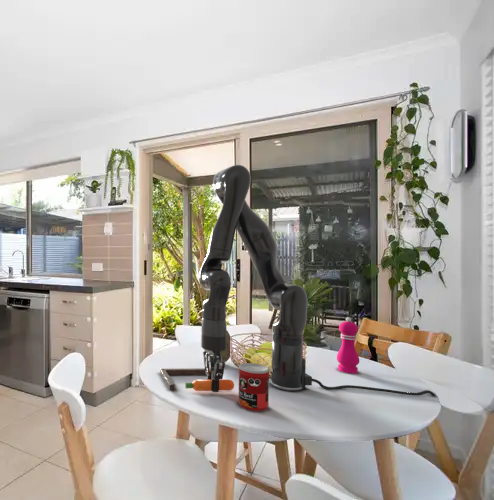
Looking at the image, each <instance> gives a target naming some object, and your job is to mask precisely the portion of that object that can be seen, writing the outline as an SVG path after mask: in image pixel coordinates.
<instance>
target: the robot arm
mask: <svg viewBox="0 0 494 500" xmlns="http://www.w3.org/2000/svg"><path fill="white" fill-rule="evenodd" d="M251 182H252V177H251V173H250V171H249V169H248V168H247V167H246V166H244V165H241V164H234V165H230V166H229V167H227V168H224V169H222V170H220V171H218V172H217V173H216V174H215V175H214V176H213V180H212V186H213V189H214V192H215V194H216V195H217V197H218V199H219V200H220V202H221V204H222V207H221V209H220V212H219V215H218V217H217V219H216V222H215V223H214V225H213V227H212V231H211V234H210V237H209V244H208V249H207V254H206V255H205V256H206V257H205V258H204V260H203V262H202V266H201V267H200V271H199V275H198V282H199V285H200V286H201V288H202V289H204V290H205V291H209V294H208V298H205V299H204V300H203V302H202V315H201V316H202V317H201V326H200V327H201V328H200V329H201V334H200V335H201V336H200V337H201V338H200V346H201V347H200V348H202V349H203V350H204V349H205V350H206V351H202V355H203V367H204V368H205V371H206V375H207V377H206V378H207V379H206V380H211V390H212V391H211V392H212V393H218V392H220V391H219V380H224V378H223V377H224V374H225V373H224V372H225V369H226V368H225V367H226V362H222V356H221V351H222V350H225V349H226V330H227V329H228V328H227V302H228V300H229V296H230V292H231V288H232V280H231V276H230V274H229V273H228V271H227V270H225V269H223V265H224V264H225V263H227V262H229V261H230V259H231V256H232V252H233V246H234V241H235V240H234V239H235V235H236V232H237V233H238V235H239V238H240V240H241V242H242V244H243V247H244V249H245V251H246V253H247V254H248V256H249V258H250V260H251V262H252V264H253V266H254V268H255V270H256V273H257V274H258V277H259V279H260V281H261V284H262V287H263V290H264V293H265V296H266V298H267V302H268V303H269V305H270V306H271V307H272V308H273V309H274V310H277V311H279V312H280V315H279V320H278V321H275V322H273V323H272V326H271V367H270V372H271V373H270V374H271V377H270V379H271V380H270V385H271V386H272V387H274V388H276V389H279V390H283V391H288V392H290V391H291V392H299V391H302V390H306V386H313V383H316V384H318V385H319V387H321V388H322V389H324V390H343V389H358V390H368V391H374V392H375V391H376V392H381V393H382V392H383V393H390V394H397V395H404V396H414V397H415V396H416V397H417V396H423V395H426V394H429V395H431V396H432V397H437V395H436V394H435V393H434V392H433V391H431V390H429V389H428V390H427V389H425V390H421V391H418V392H411V391H402V390H394V389H387V388H378V387H372V386H364V385H363V386H361V385H351V384H343V385H338V386H326V385H325V384H323V383H322V381H320V380H318V379H316V378H313V376H311V375H310V374H308V373H306V369H307V368H306V365H307V364H306V361H307V360H306V358H304V331H305V328H306V325H307V321H308V320H307V318H308V301H309V300H308V295H307V291H306V290H305V289H304V288H303V287H302V286H301V285H297V284H291V283H287V282H286V280H285V278H284V277H283V275H282V273H281V271H280V268H279V264H278V263H279V262H278V244H277V242H276V239H275V237H274V235H273V232H272V231H271V229H270V227H269V225H268V224H267V223H266V222H265V221H264V220H263V218H262V217H260V216H259V215H258V214H257V213H256V212H255V211H254V210H253V209H252V208H251V207H250V206H249V204H248V203H247V201H246V198H247V195H248V193H249V190H250V186H251ZM407 392H408V393H407ZM409 392H410V393H409Z"/></svg>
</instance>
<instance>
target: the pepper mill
mask: <svg viewBox="0 0 494 500" xmlns="http://www.w3.org/2000/svg"><path fill="white" fill-rule="evenodd" d="M338 329H339V332H340V338H341V346H340V348H339V350H338V352H337V355H336V360H337V362H338V364H337V370H338V371H339V372H340V373H345V374H352V375H355V374H358V372H359V368H358V365H359V364H360V355H359V354H358V352H357V349H356V347H355V345H356V344H355V341H356V340H357V335H356V334H357V333H358V332H359V327H358V325H357V324H356V323H355V322H352V318H351V317H349V316H347V317H345V320H344V321H342V322H341V323H340V324H339V325H338Z"/></svg>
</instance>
